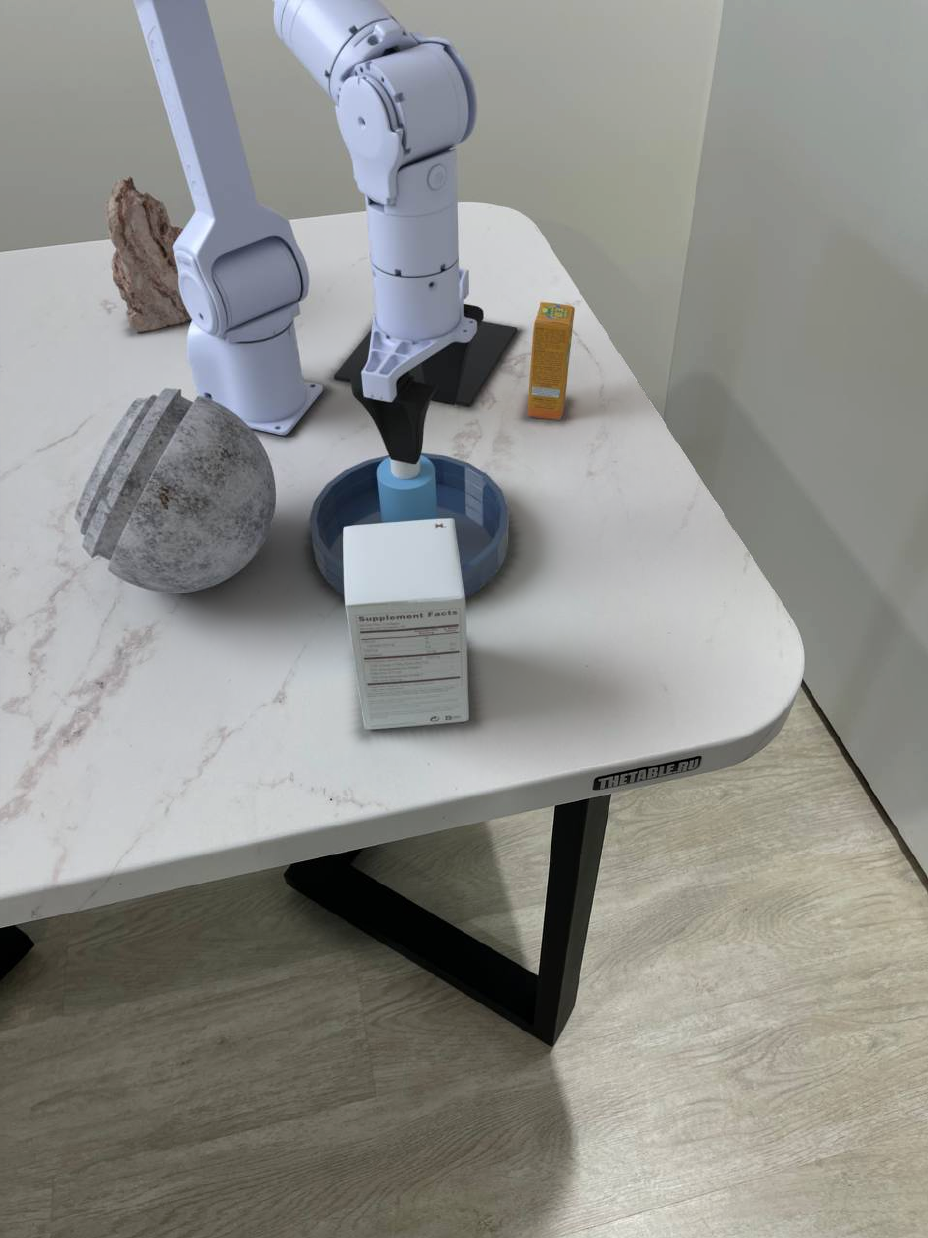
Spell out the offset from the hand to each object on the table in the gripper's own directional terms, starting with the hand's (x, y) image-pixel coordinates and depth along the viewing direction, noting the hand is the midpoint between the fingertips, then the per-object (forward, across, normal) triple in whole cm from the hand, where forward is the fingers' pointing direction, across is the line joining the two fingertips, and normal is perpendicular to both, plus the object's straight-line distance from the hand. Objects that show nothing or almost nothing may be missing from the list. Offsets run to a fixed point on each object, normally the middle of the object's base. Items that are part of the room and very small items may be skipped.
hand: (424, 428), depth 75 cm
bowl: (+10, -2, +1) cm, 10 cm away
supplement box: (+10, +19, -4) cm, 22 cm away
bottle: (+10, -2, +1) cm, 10 cm away
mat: (+10, +24, +10) cm, 28 cm away
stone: (+10, +24, +39) cm, 47 cm away
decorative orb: (+10, -10, +16) cm, 21 cm away
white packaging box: (+10, -16, -5) cm, 19 cm away
